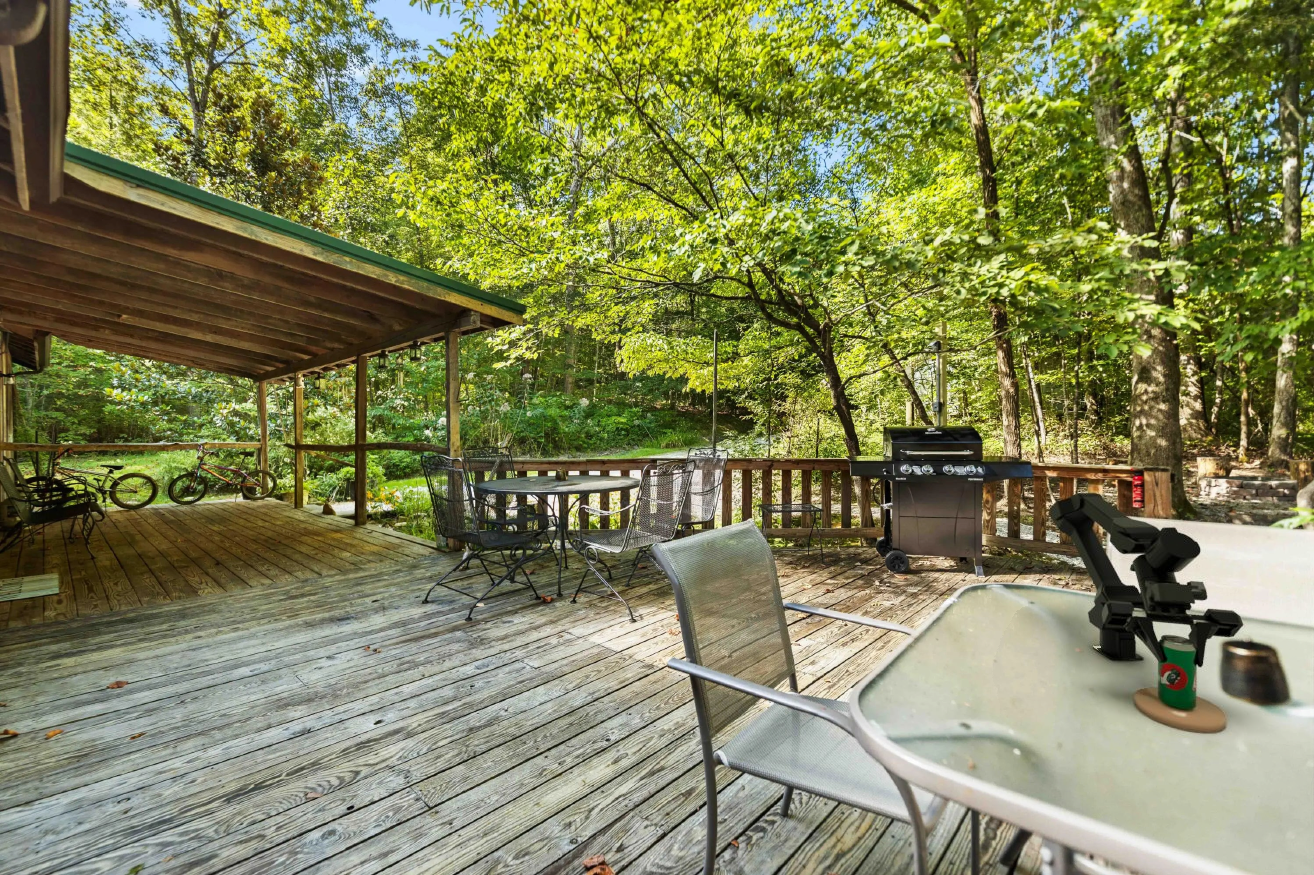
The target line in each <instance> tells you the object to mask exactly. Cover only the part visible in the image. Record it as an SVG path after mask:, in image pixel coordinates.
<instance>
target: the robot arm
mask: <svg viewBox="0 0 1314 875" xmlns="http://www.w3.org/2000/svg"><path fill="white" fill-rule="evenodd" d="M1048 513H1049V517H1050V519H1051V520H1052V521H1053V523H1054V524H1055V526H1056V527H1057V529H1058V530H1059V531H1061V532H1062V533H1064V534H1065V535H1067V536H1068V537H1070V538H1071V541H1072V543H1073V544H1074V547H1075V549H1076V551H1077V553H1078V554H1079V557H1080V559H1081V562H1083V565H1084V567H1085V569H1086V572H1088V574H1089V576H1090V579H1091V581H1092V582H1093V585H1094V587H1095V588H1096V592H1095V595H1094V600H1093V602H1094V606H1093V607H1091V609H1090V610H1089V611H1088V612H1087V615H1088V621H1089V623H1090V624H1091V625H1092V626H1094V627H1096V628H1097V629H1098V630H1099V645H1100V646H1101V648H1097V649H1098V650H1099V651H1100V652H1101V653H1100V652H1099V651H1098V652H1099V653H1100V654H1101V655H1103V654H1104V655H1103V656H1105V657H1106V658H1108V659H1109V660H1111V661H1144V656H1142V655H1140V654H1138V653H1137V640H1136V637H1137V638H1138V639H1139V640H1140V642H1142V643H1143V644H1144V645H1145V646H1146V648H1147V649H1148V650H1149V651H1150V653H1151V654H1152V655H1153V656H1154V658H1156V660H1157V662H1158V661H1159V662H1160V663H1163V661H1164V659H1163V654H1162V651H1161V648H1160V645H1159V643H1158V641H1159V640H1158V636H1157V635H1156V632H1155V629H1154V628H1155V627H1154V623H1164V624H1175V625H1186V626H1189V627H1190V632H1189V633H1188V636H1187V637H1188V639H1190V640H1191V641H1193V642H1194V646H1195V647H1196V648H1197V668H1202V667H1203V666H1204V659H1205V653H1206V652H1205V651H1206V646H1207V641H1208V640H1210V639H1212V637H1222V638H1233V637H1235V636H1236V634H1238V632H1239V631H1240V630H1241V629H1242V628H1243V626H1244V623H1243V619H1242V618H1241V615H1239V614H1238V613H1237V612H1235V611H1234V610H1230V609H1229V610H1228V609H1218V608H1207V609H1206V611H1205V612H1204V613H1203V614H1195V613H1194V614H1192V613H1188V612H1187V611H1190V610H1192V604H1193V605H1195V604H1196V601H1206V600H1207V599H1208V593H1207V588H1206V586H1205V584H1204V582H1203V581H1195V580H1191V581H1187V582H1186V584H1184V583H1183V584H1181V583H1180V582H1178V580H1177V577H1176V573H1179V572H1181V571H1183V570H1184V569H1185V568H1186V567H1188V565H1189V564H1191V563H1192V562H1193V561H1194V560H1195V559H1196V558H1197V557H1198V556H1200V554H1201V552H1202V551H1201V546H1200V544H1199V542H1197V541H1195V539H1193V537H1190V536H1189V535H1187V534H1184V533H1181V532H1179V531H1178V529H1177V527H1173V526H1172V527H1170V526H1169V527H1162V528H1161V529H1159V528H1158V526H1155V525H1153V524H1150V523H1148V522H1146V521H1143V520H1142V521H1141V520H1138V519H1134V518H1131V517H1128V516H1127V515H1126V514H1125V513H1123V512H1122V511H1120V510H1119V509H1117V507H1115V506H1114V505H1112V504H1111V503H1109V502H1108V501H1107V500H1105V499H1104V498H1103V496H1102V494H1101V493H1097V492H1078V493H1075V494H1073V495H1071V496H1070V497H1067V498H1065V499H1060V500H1058V501H1055V502H1054V503H1053V504H1052V505H1051V506H1049V511H1048ZM1095 523H1096V524H1097V525H1098V526H1100V527H1101V528H1102V529H1103V530H1105V531H1106V532H1107V533H1108V534H1109V543H1110V544H1111V545H1112V546H1113V547H1114V548H1115V549H1116V550H1117V551H1118V552H1119V553H1120V554H1122V555H1137V556H1136V557H1135V558H1134V559H1133V561H1132V563H1131V565H1130V567H1129V571H1131V572H1135V576H1136V580H1137V584H1138V587H1137V586H1135V585H1134V584H1131V585H1129V584H1125V583H1124V582H1122V580H1121V578H1120V576H1119V575H1118V573H1117V570H1116V569H1115V567H1114V565H1113V564H1112V562H1111V559H1110V558H1109V556H1108V555H1107V553H1106V551H1105V548H1104V547H1103V545H1102V542H1100V539H1099V537H1098V535H1097V534H1096V532H1095V530H1094V526H1095ZM1138 588H1139V589H1138Z"/></svg>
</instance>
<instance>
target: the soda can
mask: <svg viewBox="0 0 1314 875" xmlns="http://www.w3.org/2000/svg"><path fill="white" fill-rule="evenodd" d="M1158 643H1159V645H1160V648H1161V651H1162V654H1163V659H1164V661H1163V663H1160V662H1159V661H1158V660H1157V687H1158V698H1159V699H1160V701H1161V702H1162V703H1164V704H1165V705H1167V706H1169V707H1172V708H1175V709H1179V710H1192V709H1194V708H1195V707H1196V696H1197V689H1198V688H1197V683H1198V682H1197V680H1198V679H1197V678H1198V677H1197V676H1198V675H1197V674H1198V669H1197V668H1198V666H1197V648H1196V647H1195V646H1194V642H1193V641H1191V640H1190V639H1189V638H1186V637H1184V636H1179V635H1173V634H1163V635H1161V637H1160V639H1159V640H1158Z"/></svg>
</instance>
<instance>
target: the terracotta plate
mask: <svg viewBox="0 0 1314 875" xmlns="http://www.w3.org/2000/svg"><path fill="white" fill-rule="evenodd" d="M1133 696H1134V697H1133V698H1134V700H1133V701H1134V706H1135V708H1136V710H1138V711H1139V712H1140V713H1141V715H1144V716H1145V717H1146V718H1147V717H1148V718H1149V719H1151V720H1153V721H1155V722H1157V723H1159V724H1162V725H1164V726H1167V727H1170V728H1173V729H1177V730H1182V731H1186V732H1191V733H1198V734H1215V733H1221V732H1223V731H1224V730H1225V729H1226V728H1227V716H1226V712H1224V711H1223V709H1221V708H1220V707H1219V706H1218V705H1217V704H1214V702H1211V701H1209V700H1207V699H1205V698H1203V697H1200V696H1198V695H1196V707H1195V708H1194V709H1192V710H1179V709H1175V708H1172V707H1169V706H1167V705H1165V704H1164V703H1162V702H1161V701H1160V699H1159V698H1158V686H1157V687H1156V686H1155V687H1154V686H1153V687H1152V686H1151V687H1150V686H1149V687H1142V688H1139V689H1137V690H1135V691H1134V693H1133Z"/></svg>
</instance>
